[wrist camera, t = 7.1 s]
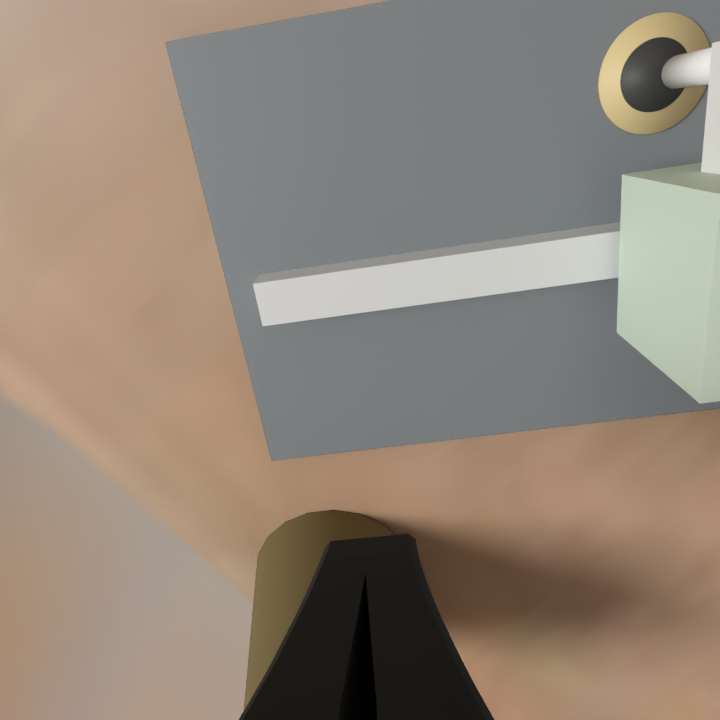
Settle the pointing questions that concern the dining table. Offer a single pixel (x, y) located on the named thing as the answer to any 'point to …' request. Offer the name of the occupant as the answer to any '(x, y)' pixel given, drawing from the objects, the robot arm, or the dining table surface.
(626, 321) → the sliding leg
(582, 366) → the plate
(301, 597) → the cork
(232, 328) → the dining table surface
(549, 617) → the dining table surface
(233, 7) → the dining table surface
